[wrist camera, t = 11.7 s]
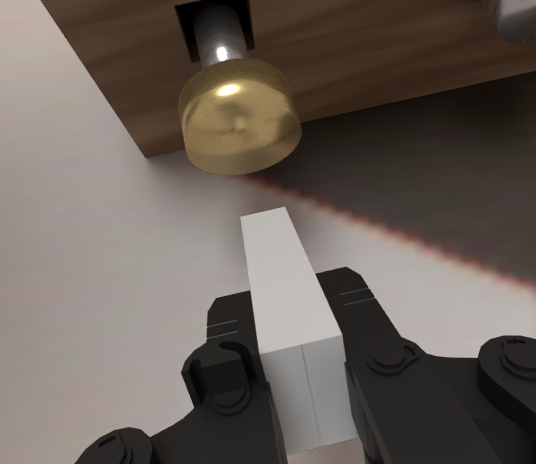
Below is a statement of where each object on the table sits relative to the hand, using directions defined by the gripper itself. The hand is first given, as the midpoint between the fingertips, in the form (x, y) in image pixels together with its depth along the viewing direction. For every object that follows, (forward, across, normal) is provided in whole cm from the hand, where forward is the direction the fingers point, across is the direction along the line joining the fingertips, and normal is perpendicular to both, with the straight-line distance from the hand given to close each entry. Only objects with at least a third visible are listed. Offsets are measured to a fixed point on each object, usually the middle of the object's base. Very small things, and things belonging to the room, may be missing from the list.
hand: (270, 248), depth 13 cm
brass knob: (+7, 0, +4) cm, 8 cm away
